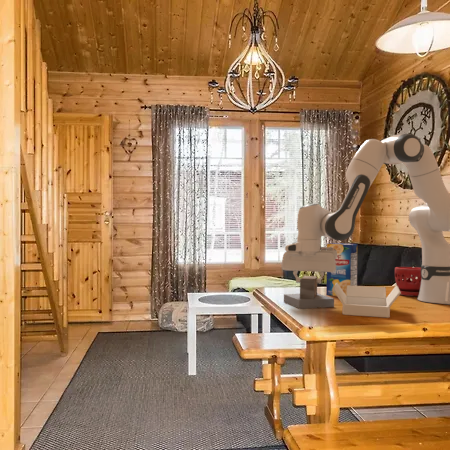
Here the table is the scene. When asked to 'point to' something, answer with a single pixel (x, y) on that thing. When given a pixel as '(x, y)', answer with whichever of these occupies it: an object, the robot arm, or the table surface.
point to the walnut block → (308, 287)
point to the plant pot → (408, 280)
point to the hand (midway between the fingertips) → (308, 283)
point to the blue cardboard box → (343, 268)
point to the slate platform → (308, 301)
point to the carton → (366, 300)
